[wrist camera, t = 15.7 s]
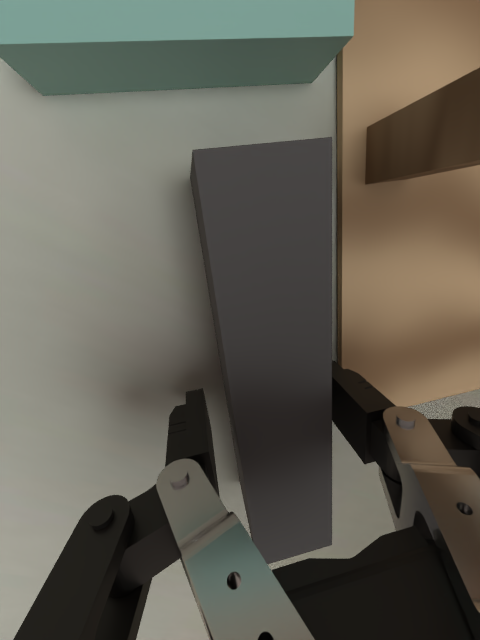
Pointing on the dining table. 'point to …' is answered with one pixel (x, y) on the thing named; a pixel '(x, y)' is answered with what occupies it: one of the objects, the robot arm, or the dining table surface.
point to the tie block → (170, 42)
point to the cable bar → (274, 328)
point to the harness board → (410, 198)
